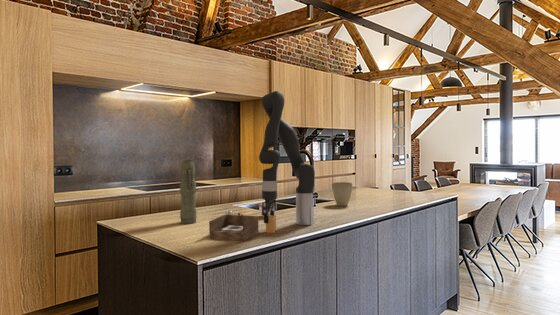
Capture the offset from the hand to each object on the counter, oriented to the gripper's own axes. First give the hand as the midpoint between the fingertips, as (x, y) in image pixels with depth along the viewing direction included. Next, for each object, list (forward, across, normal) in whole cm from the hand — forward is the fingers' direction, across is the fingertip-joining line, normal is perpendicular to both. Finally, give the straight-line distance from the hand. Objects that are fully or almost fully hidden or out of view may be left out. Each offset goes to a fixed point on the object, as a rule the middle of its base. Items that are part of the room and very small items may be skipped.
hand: (269, 221), depth 190 cm
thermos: (+6, +7, +51) cm, 52 cm away
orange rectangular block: (+5, 0, -1) cm, 5 cm away
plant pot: (+4, +92, -22) cm, 94 cm away
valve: (+6, +12, +26) cm, 29 cm away
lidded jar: (+5, +36, +14) cm, 39 cm away
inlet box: (+5, -12, +14) cm, 19 cm away
